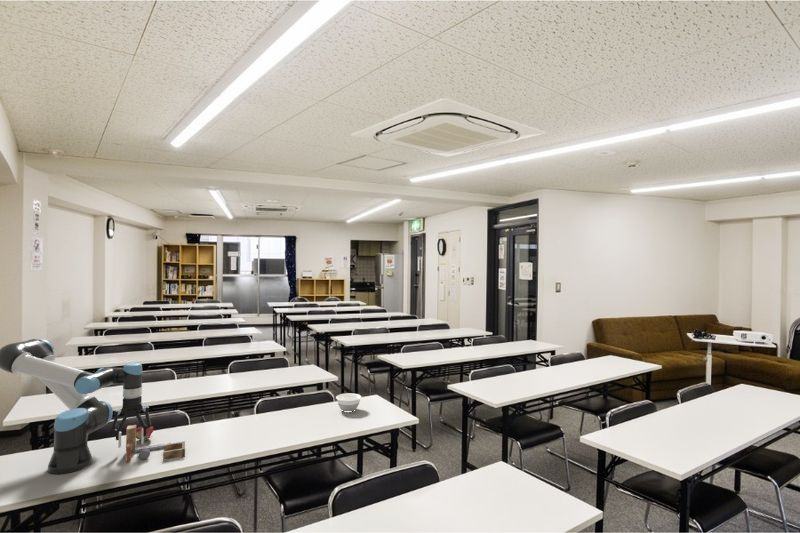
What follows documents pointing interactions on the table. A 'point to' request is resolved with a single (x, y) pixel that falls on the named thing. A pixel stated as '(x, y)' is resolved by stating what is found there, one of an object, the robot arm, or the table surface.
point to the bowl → (348, 401)
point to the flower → (148, 433)
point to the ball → (144, 454)
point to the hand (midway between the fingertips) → (131, 444)
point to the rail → (149, 448)
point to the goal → (174, 450)
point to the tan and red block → (130, 441)
